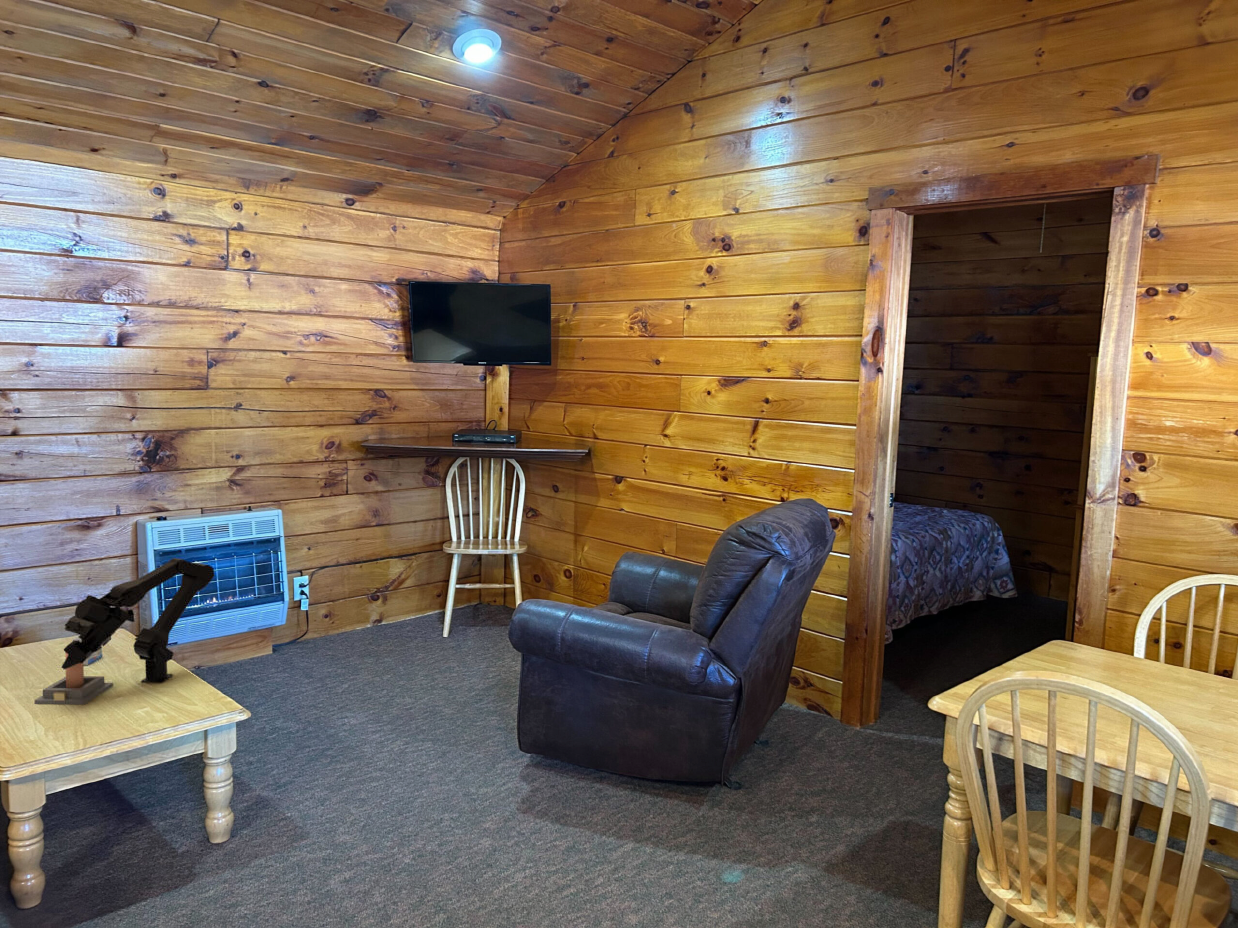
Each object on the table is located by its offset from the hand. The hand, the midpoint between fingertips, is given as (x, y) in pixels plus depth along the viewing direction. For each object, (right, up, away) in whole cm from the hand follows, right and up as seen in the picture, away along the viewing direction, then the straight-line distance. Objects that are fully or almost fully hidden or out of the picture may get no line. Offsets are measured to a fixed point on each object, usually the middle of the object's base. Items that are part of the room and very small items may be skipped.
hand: (67, 664), depth 255 cm
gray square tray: (+1, -9, +1) cm, 9 cm away
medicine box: (-11, -6, +29) cm, 32 cm away
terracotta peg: (+1, -8, +1) cm, 8 cm away
